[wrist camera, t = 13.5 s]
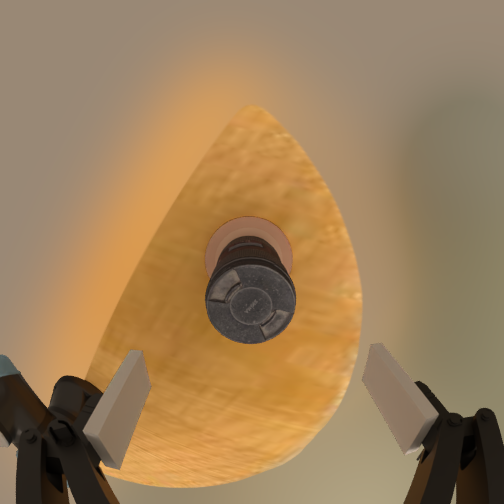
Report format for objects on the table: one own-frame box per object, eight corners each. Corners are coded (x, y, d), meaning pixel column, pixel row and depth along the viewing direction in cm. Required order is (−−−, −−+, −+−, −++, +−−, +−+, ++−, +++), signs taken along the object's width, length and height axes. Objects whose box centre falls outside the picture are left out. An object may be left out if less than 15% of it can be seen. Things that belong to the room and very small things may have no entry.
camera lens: (207, 269, 37) (186, 318, 23) (239, 219, 36) (237, 241, 21) (256, 299, 39) (262, 360, 24) (289, 253, 37) (317, 293, 23)
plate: (207, 300, 39) (207, 302, 38) (204, 217, 36) (203, 217, 36) (290, 298, 40) (290, 300, 39) (292, 216, 37) (293, 217, 36)
